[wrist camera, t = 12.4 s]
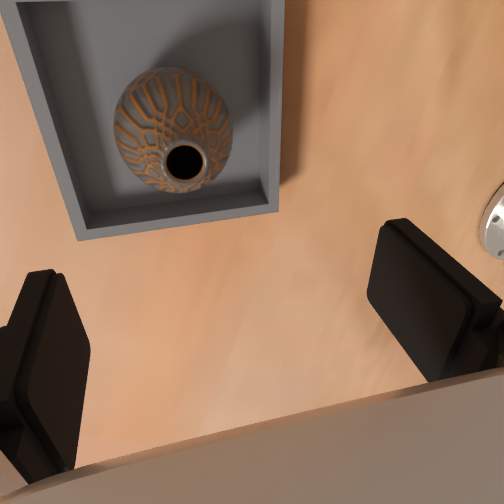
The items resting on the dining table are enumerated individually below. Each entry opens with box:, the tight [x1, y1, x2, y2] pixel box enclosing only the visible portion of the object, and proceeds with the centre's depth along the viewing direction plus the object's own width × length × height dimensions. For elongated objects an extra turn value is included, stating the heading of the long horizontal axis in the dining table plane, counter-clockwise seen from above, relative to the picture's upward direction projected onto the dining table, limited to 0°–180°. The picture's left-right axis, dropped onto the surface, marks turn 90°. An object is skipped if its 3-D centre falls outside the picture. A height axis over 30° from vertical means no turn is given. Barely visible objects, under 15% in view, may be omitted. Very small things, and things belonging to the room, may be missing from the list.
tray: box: [0, 0, 285, 241], centre depth 25 cm, size 15×15×3 cm
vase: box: [113, 67, 233, 193], centre depth 22 cm, size 7×7×9 cm
